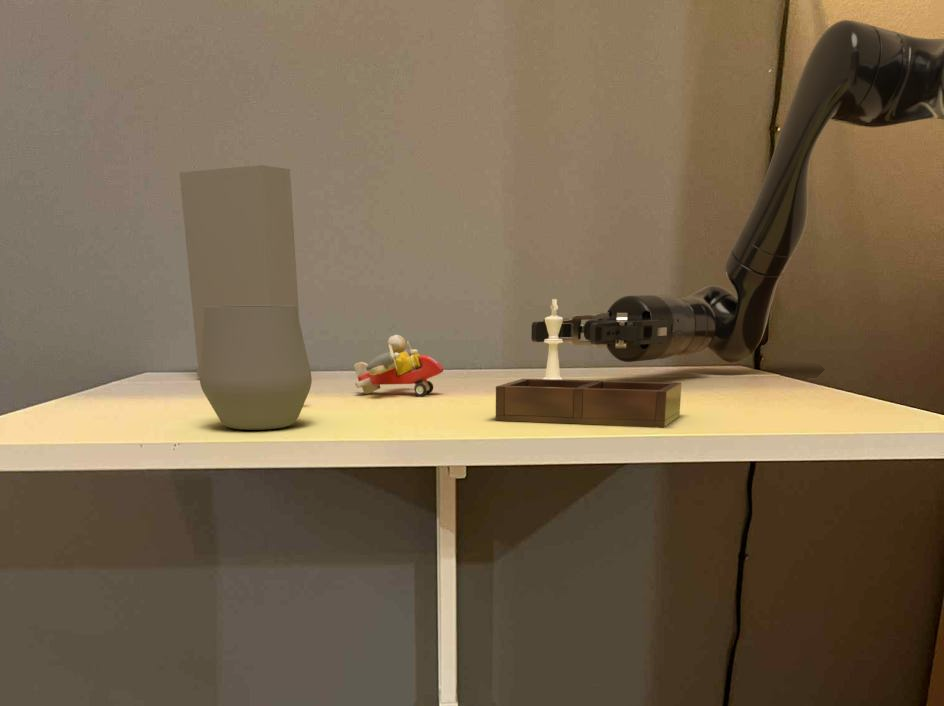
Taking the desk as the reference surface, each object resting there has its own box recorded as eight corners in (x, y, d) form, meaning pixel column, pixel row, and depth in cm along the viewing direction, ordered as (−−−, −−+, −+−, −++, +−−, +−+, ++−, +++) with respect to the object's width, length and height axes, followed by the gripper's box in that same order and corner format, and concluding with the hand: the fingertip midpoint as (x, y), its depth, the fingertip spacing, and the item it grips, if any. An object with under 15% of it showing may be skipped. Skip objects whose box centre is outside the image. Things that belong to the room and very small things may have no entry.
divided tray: (679, 415, 91) (681, 382, 90) (664, 427, 84) (666, 391, 82) (522, 410, 96) (522, 378, 95) (495, 420, 89) (495, 386, 88)
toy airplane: (448, 395, 109) (447, 334, 107) (374, 400, 105) (371, 337, 103) (410, 388, 116) (408, 331, 114) (339, 393, 112) (336, 334, 110)
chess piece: (535, 396, 107) (537, 299, 104) (526, 392, 112) (527, 299, 108) (579, 395, 108) (582, 299, 104) (568, 391, 112) (570, 298, 109)
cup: (328, 420, 89) (322, 304, 86) (291, 435, 81) (282, 307, 77) (231, 418, 91) (222, 305, 88) (185, 432, 83) (172, 307, 79)
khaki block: (308, 379, 129) (295, 169, 120) (276, 383, 124) (261, 165, 116) (230, 375, 136) (213, 176, 127) (197, 379, 131) (177, 172, 122)
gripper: (604, 295, 123) (515, 297, 112) (702, 295, 113) (615, 297, 102) (602, 357, 125) (514, 365, 115) (697, 362, 115) (612, 371, 105)
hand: (562, 333), depth 108 cm, fingers open, 8 cm apart
